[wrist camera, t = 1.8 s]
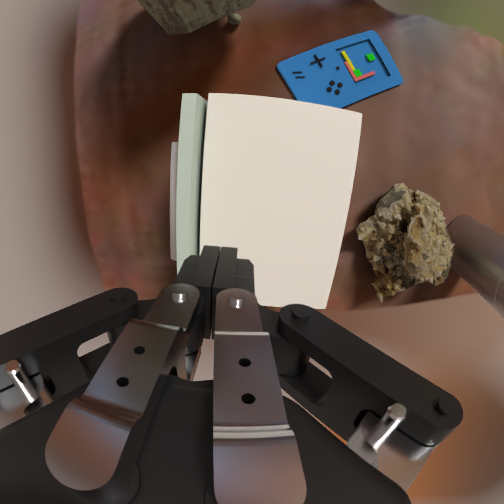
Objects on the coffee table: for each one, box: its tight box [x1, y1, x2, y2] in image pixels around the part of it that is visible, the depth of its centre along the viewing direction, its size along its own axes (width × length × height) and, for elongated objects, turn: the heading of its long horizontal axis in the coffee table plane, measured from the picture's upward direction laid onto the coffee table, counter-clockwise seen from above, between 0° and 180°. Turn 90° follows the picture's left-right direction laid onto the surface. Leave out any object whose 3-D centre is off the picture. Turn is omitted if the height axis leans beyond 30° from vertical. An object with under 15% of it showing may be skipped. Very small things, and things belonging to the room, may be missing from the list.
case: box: [200, 93, 362, 309], centre depth 27 cm, size 12×18×12 cm, turn 175°
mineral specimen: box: [355, 183, 455, 303], centre depth 31 cm, size 14×13×10 cm
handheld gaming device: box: [277, 31, 403, 108], centre depth 27 cm, size 8×1×15 cm
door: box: [170, 93, 208, 275], centre depth 26 cm, size 2×17×14 cm, turn 175°
